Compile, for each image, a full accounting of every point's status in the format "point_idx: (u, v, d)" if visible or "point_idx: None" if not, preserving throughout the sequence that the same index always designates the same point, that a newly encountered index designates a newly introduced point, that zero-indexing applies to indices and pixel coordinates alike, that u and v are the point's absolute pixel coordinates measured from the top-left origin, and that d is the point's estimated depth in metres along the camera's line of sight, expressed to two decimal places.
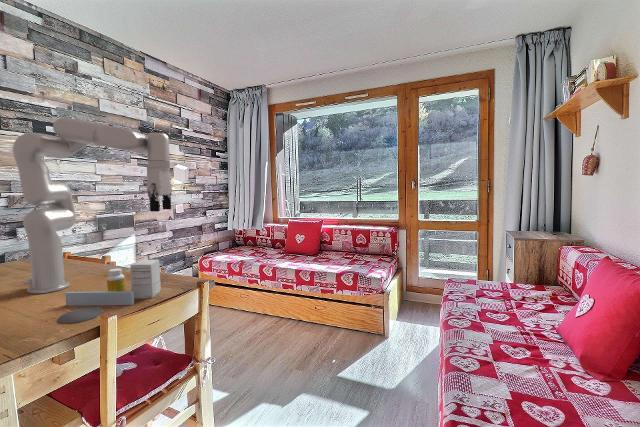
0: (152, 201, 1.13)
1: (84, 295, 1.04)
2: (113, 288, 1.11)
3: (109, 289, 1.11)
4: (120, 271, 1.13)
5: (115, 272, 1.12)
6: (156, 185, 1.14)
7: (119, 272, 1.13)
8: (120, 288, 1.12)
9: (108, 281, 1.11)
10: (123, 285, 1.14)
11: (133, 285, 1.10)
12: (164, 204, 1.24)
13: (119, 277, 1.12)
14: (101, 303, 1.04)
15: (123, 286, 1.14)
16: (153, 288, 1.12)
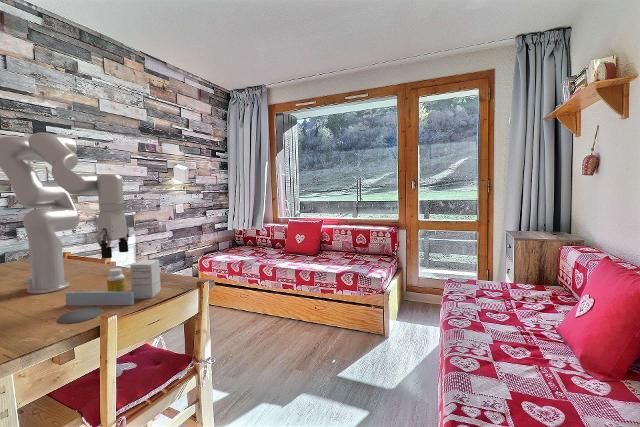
0: (103, 248, 1.06)
1: (84, 295, 1.04)
2: (113, 288, 1.11)
3: (109, 289, 1.11)
4: (120, 271, 1.13)
5: (115, 272, 1.12)
6: (107, 230, 1.07)
7: (119, 272, 1.13)
8: (120, 288, 1.12)
9: (108, 281, 1.11)
10: (123, 285, 1.14)
11: (133, 285, 1.10)
12: (120, 247, 1.17)
13: (119, 277, 1.12)
14: (101, 303, 1.04)
15: (123, 286, 1.14)
16: (153, 288, 1.12)
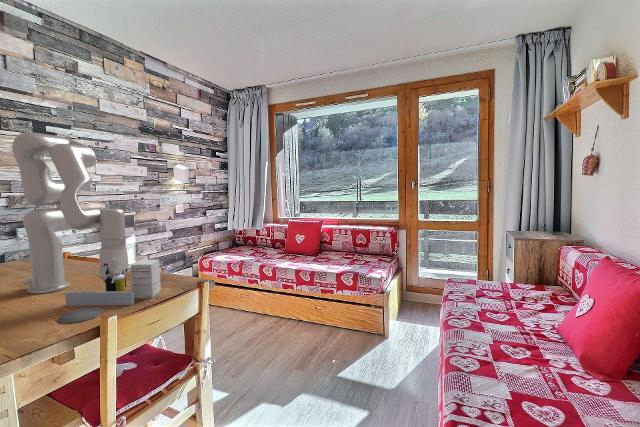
0: (108, 284, 1.09)
1: (84, 295, 1.04)
2: None
3: None
4: None
5: None
6: (109, 265, 1.08)
7: (119, 272, 1.13)
8: (120, 288, 1.12)
9: None
10: (123, 285, 1.14)
11: (133, 285, 1.10)
12: None
13: (119, 277, 1.12)
14: (101, 303, 1.04)
15: (123, 286, 1.14)
16: (153, 288, 1.12)
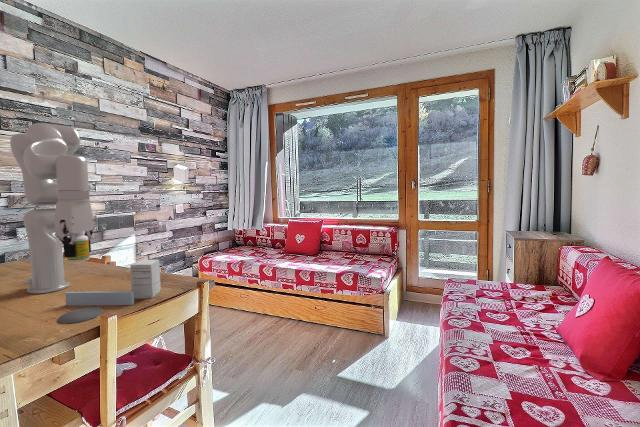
0: (66, 245, 0.91)
1: (84, 295, 1.04)
2: None
3: None
4: None
5: None
6: (66, 222, 0.89)
7: (81, 232, 0.94)
8: (82, 251, 0.94)
9: None
10: (86, 248, 0.95)
11: (133, 285, 1.10)
12: None
13: (81, 238, 0.93)
14: (101, 303, 1.04)
15: (86, 249, 0.95)
16: (153, 288, 1.12)
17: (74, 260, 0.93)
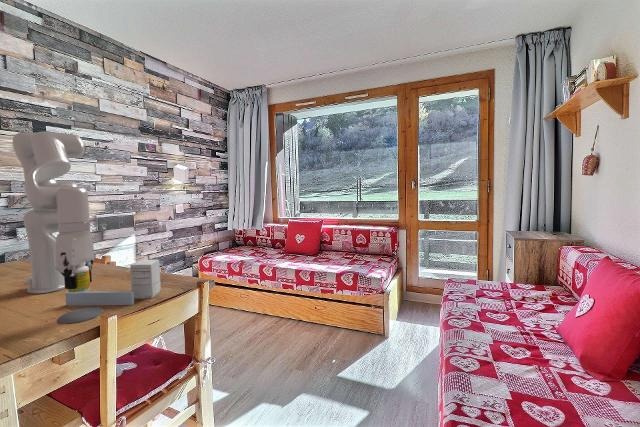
0: (66, 277, 0.91)
1: (84, 295, 1.04)
2: None
3: None
4: (83, 262, 0.94)
5: None
6: (67, 255, 0.89)
7: (82, 263, 0.94)
8: (82, 282, 0.94)
9: None
10: (87, 279, 0.95)
11: (133, 285, 1.10)
12: None
13: (81, 269, 0.94)
14: (101, 303, 1.04)
15: (87, 280, 0.95)
16: (153, 288, 1.12)
17: (75, 291, 0.93)
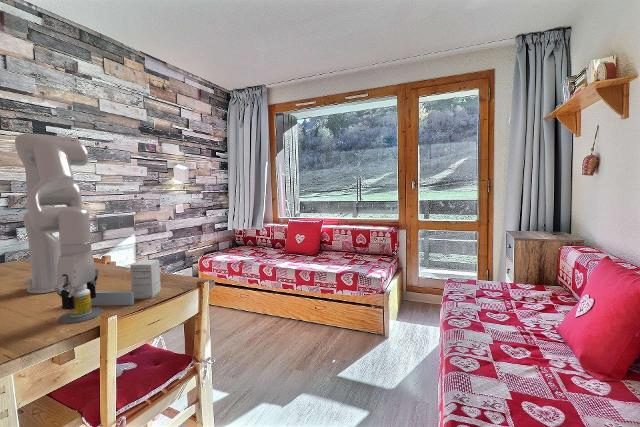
0: (64, 298, 0.90)
1: None
2: (75, 307, 0.93)
3: None
4: (84, 286, 0.95)
5: (77, 287, 0.94)
6: (68, 277, 0.90)
7: (83, 287, 0.95)
8: (84, 306, 0.95)
9: None
10: (88, 302, 0.96)
11: (133, 285, 1.10)
12: None
13: (83, 293, 0.94)
14: (101, 303, 1.04)
15: (88, 303, 0.96)
16: (153, 288, 1.12)
17: (76, 315, 0.94)
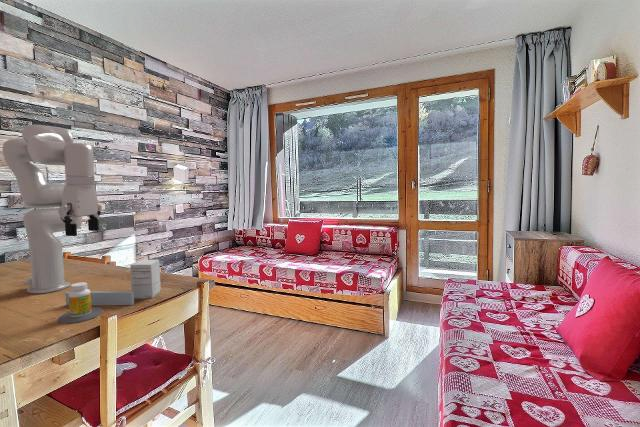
0: (67, 224, 0.96)
1: None
2: (75, 307, 0.93)
3: (71, 307, 0.94)
4: (84, 286, 0.95)
5: (78, 287, 0.94)
6: (72, 205, 0.96)
7: (83, 287, 0.95)
8: (84, 306, 0.95)
9: (69, 298, 0.93)
10: (88, 302, 0.96)
11: (133, 285, 1.10)
12: (90, 225, 1.06)
13: (83, 293, 0.94)
14: (101, 303, 1.04)
15: (88, 304, 0.96)
16: (153, 288, 1.12)
17: (76, 315, 0.94)
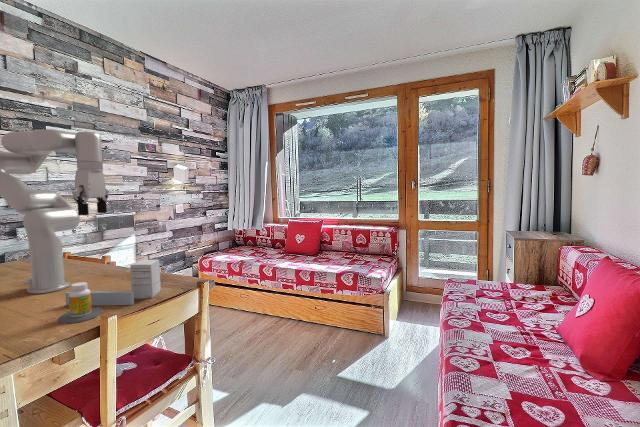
0: (80, 204, 1.07)
1: None
2: (75, 307, 0.93)
3: (71, 307, 0.94)
4: (85, 286, 0.95)
5: (78, 287, 0.94)
6: (84, 187, 1.07)
7: (83, 287, 0.95)
8: (84, 306, 0.95)
9: (69, 298, 0.93)
10: (88, 302, 0.96)
11: (133, 285, 1.10)
12: (99, 207, 1.17)
13: (83, 293, 0.94)
14: (101, 303, 1.04)
15: (88, 303, 0.96)
16: (153, 288, 1.12)
17: (76, 315, 0.94)
